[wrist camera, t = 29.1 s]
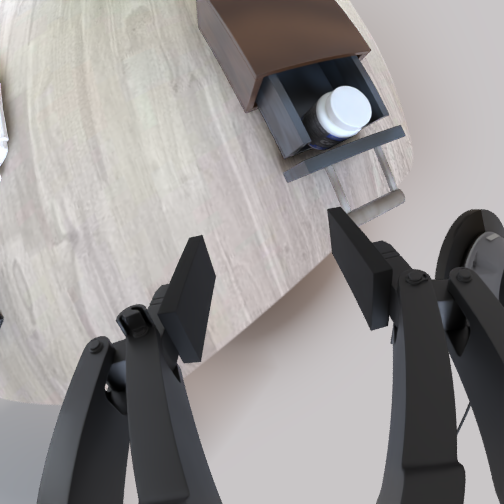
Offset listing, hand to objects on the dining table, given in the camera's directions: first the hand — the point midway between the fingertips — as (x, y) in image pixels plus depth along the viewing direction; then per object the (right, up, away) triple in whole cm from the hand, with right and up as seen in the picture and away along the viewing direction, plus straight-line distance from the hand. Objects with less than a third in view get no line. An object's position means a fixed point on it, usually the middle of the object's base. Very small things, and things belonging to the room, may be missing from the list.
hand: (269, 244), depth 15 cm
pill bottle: (+6, +13, +13) cm, 19 cm away
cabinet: (+1, +24, +13) cm, 28 cm away
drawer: (+6, +13, +14) cm, 20 cm away
